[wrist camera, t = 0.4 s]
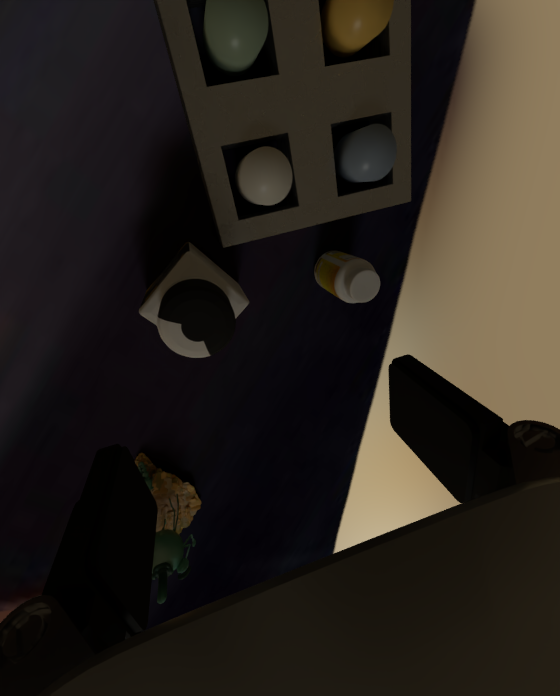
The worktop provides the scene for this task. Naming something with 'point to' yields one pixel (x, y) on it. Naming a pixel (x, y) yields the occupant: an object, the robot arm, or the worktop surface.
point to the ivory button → (264, 176)
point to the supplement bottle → (347, 277)
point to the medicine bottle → (194, 304)
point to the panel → (295, 114)
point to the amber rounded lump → (353, 24)
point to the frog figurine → (169, 521)
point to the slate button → (365, 154)
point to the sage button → (234, 33)
